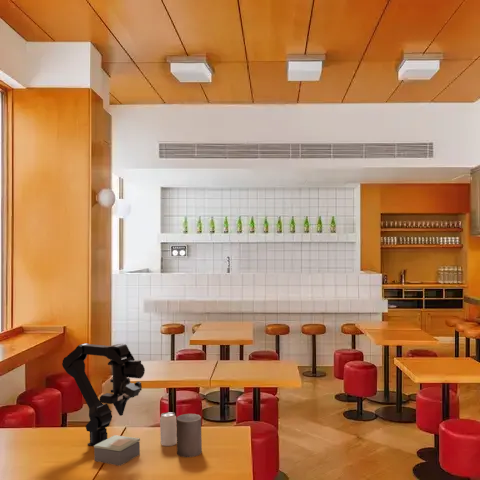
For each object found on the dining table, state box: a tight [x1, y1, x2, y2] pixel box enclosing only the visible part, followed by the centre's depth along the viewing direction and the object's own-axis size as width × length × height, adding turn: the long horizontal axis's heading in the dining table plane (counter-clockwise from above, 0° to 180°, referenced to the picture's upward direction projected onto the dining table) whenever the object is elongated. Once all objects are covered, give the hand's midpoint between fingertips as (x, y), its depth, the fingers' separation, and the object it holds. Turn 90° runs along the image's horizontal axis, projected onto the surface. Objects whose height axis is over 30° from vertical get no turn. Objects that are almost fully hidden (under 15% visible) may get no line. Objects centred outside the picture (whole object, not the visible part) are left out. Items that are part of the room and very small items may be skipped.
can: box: [159, 411, 177, 447], centre depth 232 cm, size 6×6×12 cm
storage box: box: [93, 441, 141, 467], centre depth 219 cm, size 12×12×5 cm
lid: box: [93, 434, 141, 451], centre depth 219 cm, size 12×12×1 cm
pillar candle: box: [176, 413, 203, 458], centre depth 222 cm, size 10×10×15 cm
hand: (121, 415), depth 229 cm, fingers closed
